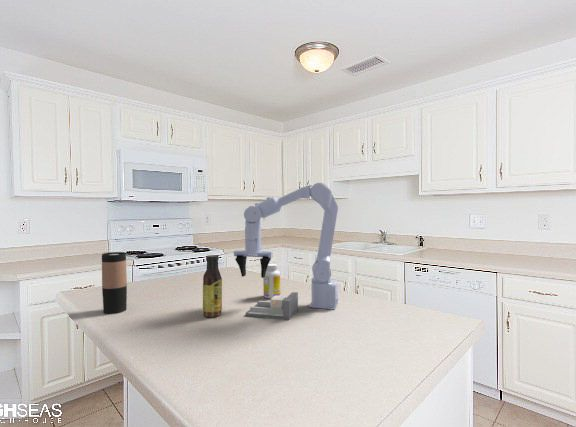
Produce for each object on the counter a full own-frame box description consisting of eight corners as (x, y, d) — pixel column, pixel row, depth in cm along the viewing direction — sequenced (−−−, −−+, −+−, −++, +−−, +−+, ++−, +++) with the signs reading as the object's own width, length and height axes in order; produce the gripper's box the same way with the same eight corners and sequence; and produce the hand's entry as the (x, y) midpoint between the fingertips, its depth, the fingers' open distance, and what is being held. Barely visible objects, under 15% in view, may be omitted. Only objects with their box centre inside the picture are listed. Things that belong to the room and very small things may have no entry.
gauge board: (297, 309, 119) (297, 292, 119) (289, 319, 109) (289, 301, 108) (257, 306, 123) (257, 289, 123) (245, 315, 113) (245, 297, 113)
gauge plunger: (286, 307, 117) (286, 296, 117) (279, 315, 110) (279, 302, 110) (275, 307, 118) (275, 295, 118) (267, 314, 111) (267, 301, 111)
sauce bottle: (217, 318, 110) (216, 257, 110) (199, 317, 111) (198, 256, 111) (225, 312, 117) (224, 254, 116) (208, 311, 118) (207, 253, 117)
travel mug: (97, 312, 117) (96, 254, 117) (117, 306, 124) (116, 251, 123) (112, 315, 114) (110, 255, 113) (132, 309, 121) (131, 252, 120)
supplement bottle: (281, 294, 139) (281, 263, 138) (279, 299, 132) (279, 266, 132) (265, 294, 139) (264, 263, 139) (262, 299, 133) (261, 266, 132)
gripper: (275, 238, 126) (275, 275, 126) (239, 237, 130) (239, 273, 130) (269, 240, 119) (269, 279, 120) (231, 239, 123) (231, 277, 124)
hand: (253, 276), depth 125 cm, fingers open, 7 cm apart
